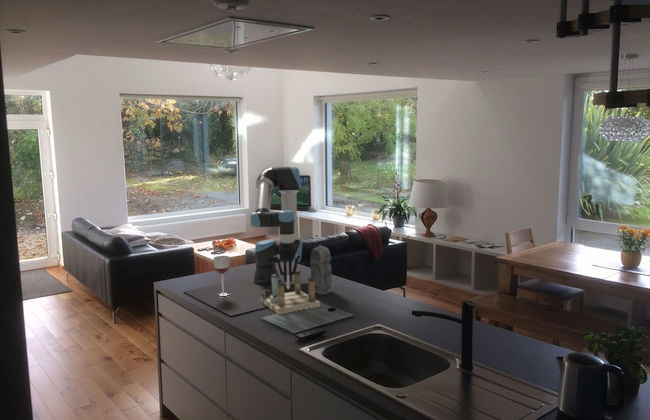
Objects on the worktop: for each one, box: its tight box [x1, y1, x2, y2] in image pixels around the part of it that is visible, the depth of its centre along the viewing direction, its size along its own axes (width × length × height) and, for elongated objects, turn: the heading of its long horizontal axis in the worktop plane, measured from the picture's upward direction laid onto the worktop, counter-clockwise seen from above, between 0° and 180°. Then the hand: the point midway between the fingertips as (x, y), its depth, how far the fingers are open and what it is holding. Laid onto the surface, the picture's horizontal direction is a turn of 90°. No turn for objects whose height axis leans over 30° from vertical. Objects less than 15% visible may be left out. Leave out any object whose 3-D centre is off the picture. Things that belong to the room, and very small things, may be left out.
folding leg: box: [270, 274, 279, 303], centre depth 268 cm, size 12×4×11 cm, turn 4°
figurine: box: [309, 244, 333, 295], centre depth 289 cm, size 10×14×25 cm
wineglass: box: [213, 255, 230, 297], centre depth 285 cm, size 8×9×20 cm
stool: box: [260, 270, 321, 315], centre depth 268 cm, size 22×22×14 cm
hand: (288, 288), depth 273 cm, fingers closed
